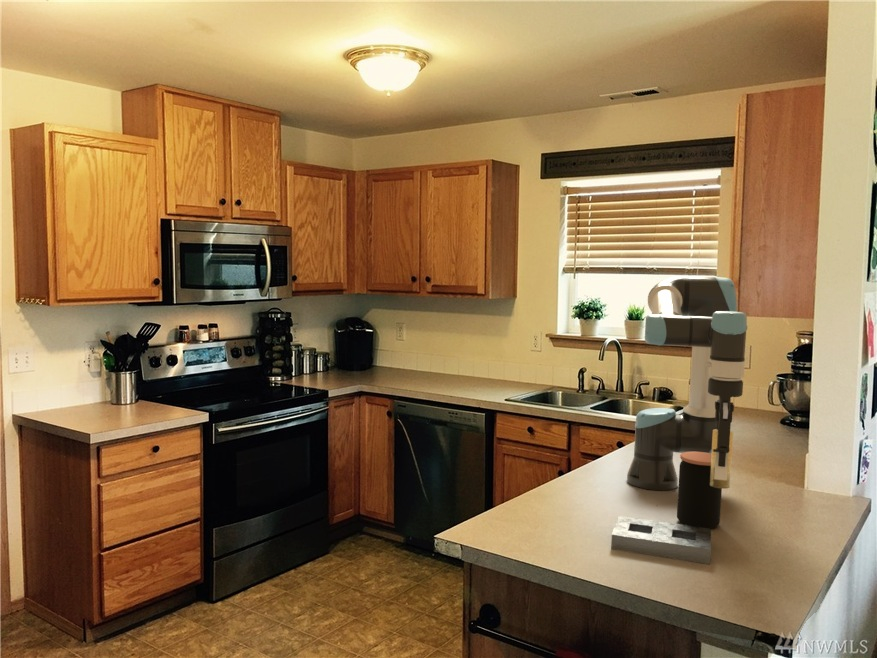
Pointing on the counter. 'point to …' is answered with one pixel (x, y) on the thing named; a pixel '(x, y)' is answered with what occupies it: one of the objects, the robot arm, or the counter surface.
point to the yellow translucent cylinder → (714, 482)
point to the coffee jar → (697, 492)
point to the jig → (662, 539)
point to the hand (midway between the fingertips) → (719, 476)
